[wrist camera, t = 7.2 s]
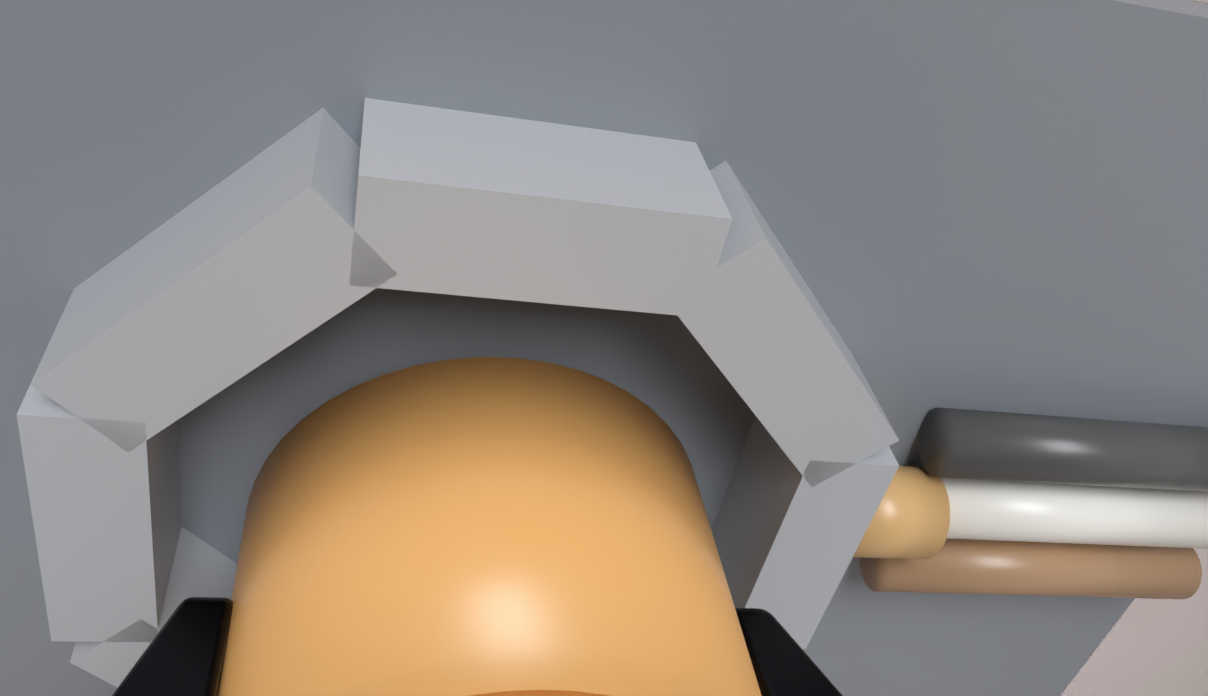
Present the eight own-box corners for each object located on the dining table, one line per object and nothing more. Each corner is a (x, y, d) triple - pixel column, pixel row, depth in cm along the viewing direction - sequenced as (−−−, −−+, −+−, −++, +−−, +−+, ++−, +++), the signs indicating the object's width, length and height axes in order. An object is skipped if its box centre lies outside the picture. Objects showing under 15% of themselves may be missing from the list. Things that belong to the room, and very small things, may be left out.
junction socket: (1484, 56, 11) (1662, 141, 9) (1002, 719, 18) (1058, 831, 16) (-277, -284, 7) (-468, -235, 6) (-30, 726, 14) (-85, 874, 13)
